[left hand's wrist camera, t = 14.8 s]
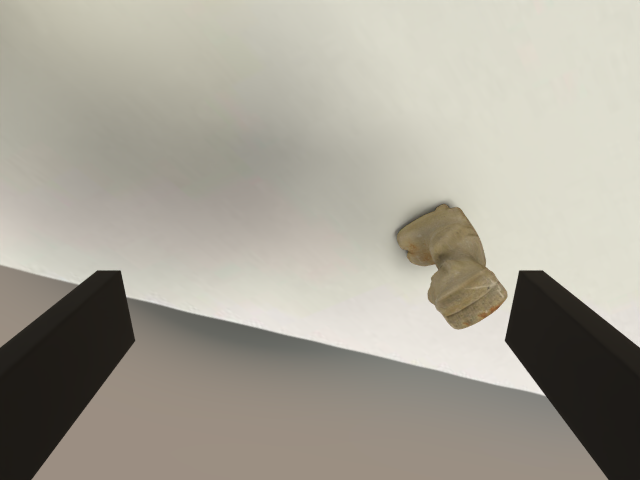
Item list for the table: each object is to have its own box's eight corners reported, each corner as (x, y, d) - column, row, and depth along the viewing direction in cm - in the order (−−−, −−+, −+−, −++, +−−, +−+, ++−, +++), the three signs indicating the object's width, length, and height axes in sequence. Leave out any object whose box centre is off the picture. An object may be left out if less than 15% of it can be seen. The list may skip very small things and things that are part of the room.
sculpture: (386, 226, 42) (420, 293, 28) (445, 189, 40) (511, 240, 26) (413, 266, 44) (457, 347, 30) (470, 232, 42) (545, 301, 28)
